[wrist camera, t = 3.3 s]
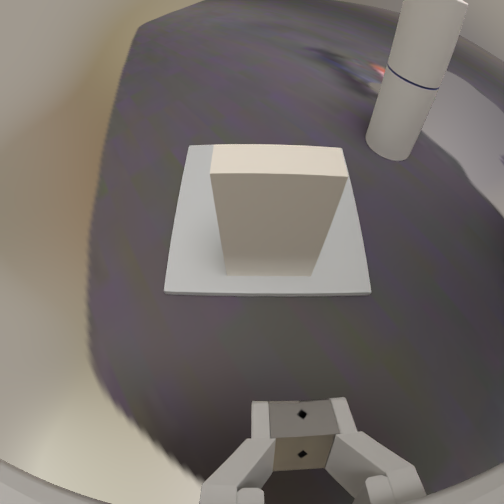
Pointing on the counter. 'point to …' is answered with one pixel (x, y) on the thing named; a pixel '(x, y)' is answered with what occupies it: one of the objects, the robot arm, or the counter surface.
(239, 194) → the tile
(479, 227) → the counter surface
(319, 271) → the mat
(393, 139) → the cylindrical container
